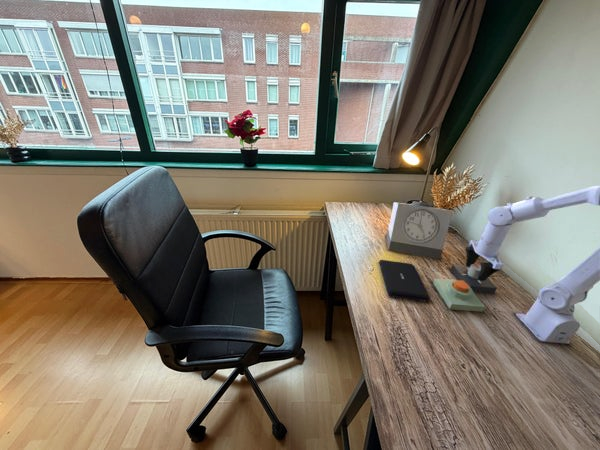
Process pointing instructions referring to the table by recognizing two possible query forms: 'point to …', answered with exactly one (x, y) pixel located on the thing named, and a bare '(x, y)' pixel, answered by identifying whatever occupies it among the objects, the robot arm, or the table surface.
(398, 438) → the table surface
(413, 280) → the laptop
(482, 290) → the dial panel
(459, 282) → the button
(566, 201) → the robot arm
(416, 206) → the alarm clock
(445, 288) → the green button box
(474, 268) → the temp dial
